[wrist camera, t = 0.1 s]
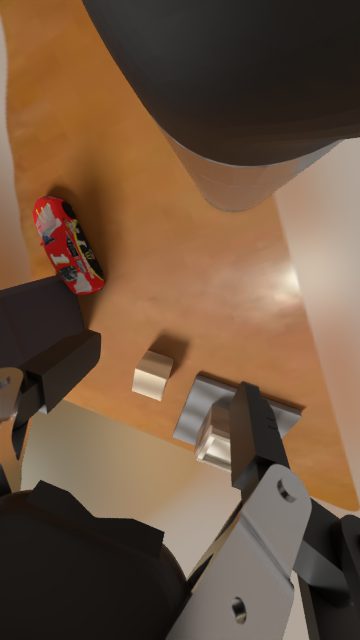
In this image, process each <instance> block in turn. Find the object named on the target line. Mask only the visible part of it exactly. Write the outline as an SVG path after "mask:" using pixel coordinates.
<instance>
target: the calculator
mask: <svg viewBox="0 0 360 640" xmlns="http://www.w3.org/2000/svg"><path fill="white" fill-rule="evenodd" d="M84 330H85V329H84V325H83V321H82V317H81V313H80V308H79V304H78V300H77V296H76V294H74V293H73V292H72V291H71V290H70V288H69V287H68V286H67V284H66V283H65V282H64V280H63V279H62V278H61V277H60V276H51V277H47V278H44V279H40V280H36V281H33V282H29V283H25V284H22V285H18V286H14V287H11V288H7V289H4V290H0V368H5V367H13V368H17V367H18V366H20V365H22V364H23V363H25V362H26V361H28V360H30V359H31V358H33V357H34V356H36V355H37V354H39V353H41V352H42V351H44V350H45V349H48V347H50V346H52V345H54V344H55V343H56V342H58V341H60V340H61V339H63V338H65V337H68V336H71V335H78V334H79V333H81V332H82V331H84Z"/></svg>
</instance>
